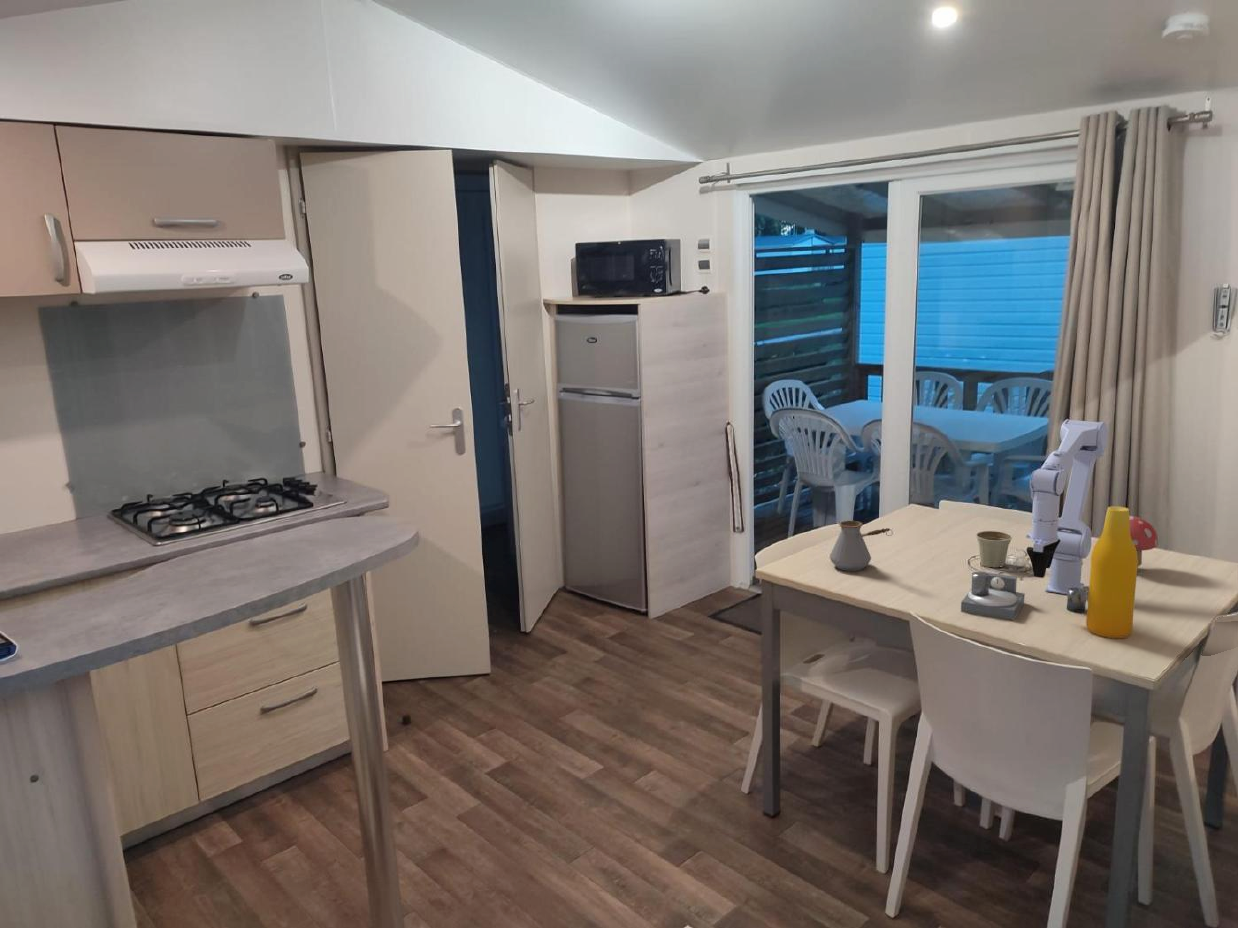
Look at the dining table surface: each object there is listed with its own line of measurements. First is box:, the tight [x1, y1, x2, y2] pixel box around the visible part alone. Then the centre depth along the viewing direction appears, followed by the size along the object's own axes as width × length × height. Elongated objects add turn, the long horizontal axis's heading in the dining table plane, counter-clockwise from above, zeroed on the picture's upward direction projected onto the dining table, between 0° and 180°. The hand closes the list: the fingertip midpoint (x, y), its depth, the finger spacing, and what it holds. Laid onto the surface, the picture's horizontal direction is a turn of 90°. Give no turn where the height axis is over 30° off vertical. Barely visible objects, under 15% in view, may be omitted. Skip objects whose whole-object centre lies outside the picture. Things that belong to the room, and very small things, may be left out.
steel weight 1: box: [970, 571, 990, 597], centre depth 216 cm, size 4×4×5 cm
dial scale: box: [960, 571, 1025, 621], centre depth 216 cm, size 13×12×6 cm
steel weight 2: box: [1066, 588, 1088, 614], centre depth 212 cm, size 4×4×5 cm
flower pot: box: [975, 530, 1013, 569], centre depth 246 cm, size 9×9×9 cm
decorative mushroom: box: [1129, 515, 1159, 568], centre depth 237 cm, size 13×13×15 cm
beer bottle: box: [1085, 505, 1139, 639], centre depth 197 cm, size 9×9×29 cm
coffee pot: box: [829, 520, 894, 572], centre depth 245 cm, size 21×12×15 cm, turn 27°
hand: (1042, 572), depth 213 cm, fingers open, 7 cm apart
